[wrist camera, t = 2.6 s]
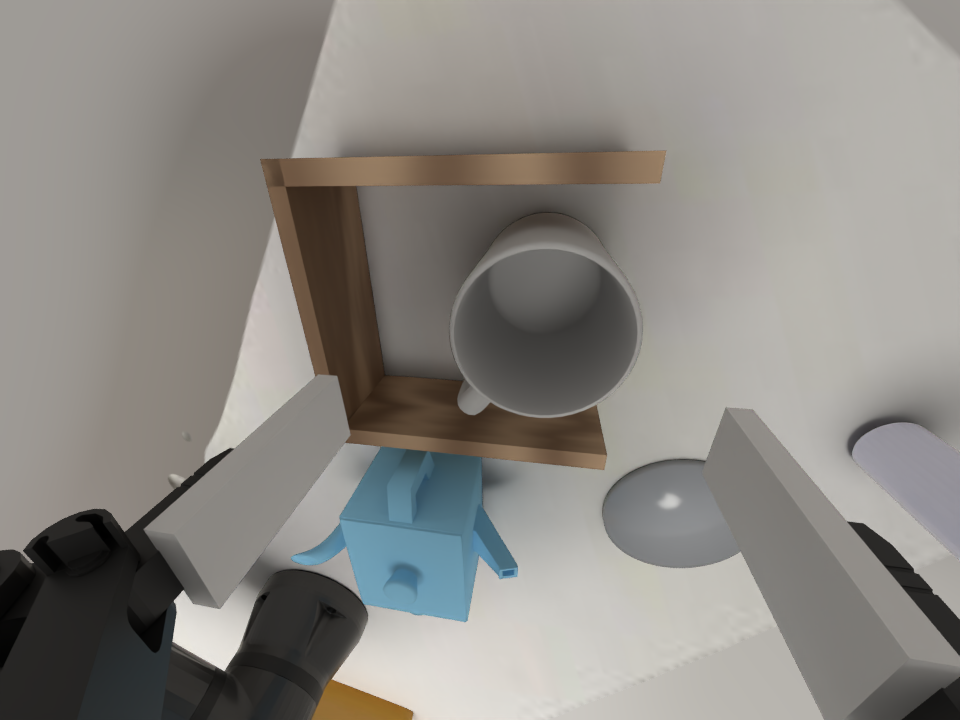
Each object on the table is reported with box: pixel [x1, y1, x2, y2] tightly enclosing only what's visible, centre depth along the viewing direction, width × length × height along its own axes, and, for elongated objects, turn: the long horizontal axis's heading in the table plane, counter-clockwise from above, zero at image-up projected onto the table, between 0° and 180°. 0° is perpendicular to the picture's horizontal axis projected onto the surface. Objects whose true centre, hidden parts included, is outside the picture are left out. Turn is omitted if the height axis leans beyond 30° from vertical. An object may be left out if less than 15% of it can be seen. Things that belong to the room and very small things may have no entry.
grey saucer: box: [603, 460, 740, 568], centre depth 33 cm, size 13×13×1 cm
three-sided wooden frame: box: [260, 151, 666, 470], centre depth 23 cm, size 18×17×8 cm
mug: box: [449, 213, 643, 418], centre depth 21 cm, size 12×8×11 cm
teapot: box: [291, 447, 518, 622], centre depth 31 cm, size 16×18×11 cm
